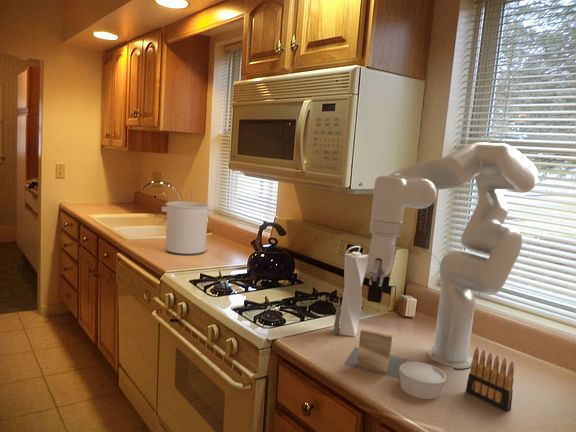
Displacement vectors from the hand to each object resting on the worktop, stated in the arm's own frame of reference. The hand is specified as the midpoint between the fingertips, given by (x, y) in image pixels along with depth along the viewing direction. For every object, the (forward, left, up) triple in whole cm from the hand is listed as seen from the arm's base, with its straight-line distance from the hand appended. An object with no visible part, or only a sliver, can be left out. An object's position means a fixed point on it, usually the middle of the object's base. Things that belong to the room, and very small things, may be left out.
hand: (377, 296), depth 116 cm
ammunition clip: (-6, +28, -23) cm, 37 cm away
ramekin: (-2, +13, -23) cm, 26 cm away
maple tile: (-7, -1, -22) cm, 23 cm away
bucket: (-90, -116, -23) cm, 149 cm away
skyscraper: (-28, -13, -23) cm, 39 cm away
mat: (-12, -1, -23) cm, 25 cm away
